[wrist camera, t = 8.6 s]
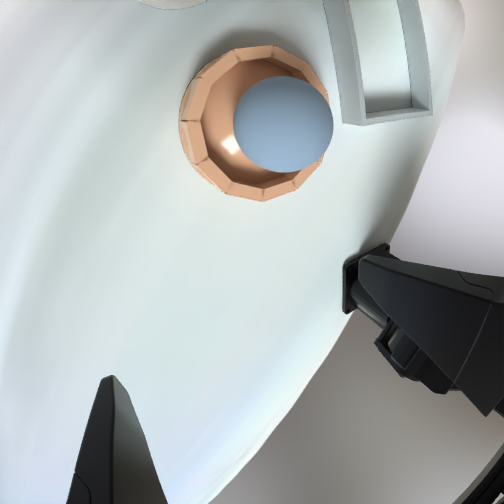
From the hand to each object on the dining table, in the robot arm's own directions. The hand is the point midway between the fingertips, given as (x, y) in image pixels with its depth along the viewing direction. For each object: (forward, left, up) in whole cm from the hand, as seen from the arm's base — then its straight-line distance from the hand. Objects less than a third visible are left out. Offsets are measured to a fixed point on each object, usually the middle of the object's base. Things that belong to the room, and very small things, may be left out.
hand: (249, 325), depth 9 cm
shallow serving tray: (+10, -20, -12) cm, 25 cm away
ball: (+4, -7, -11) cm, 14 cm away
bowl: (+4, -7, -12) cm, 14 cm away
